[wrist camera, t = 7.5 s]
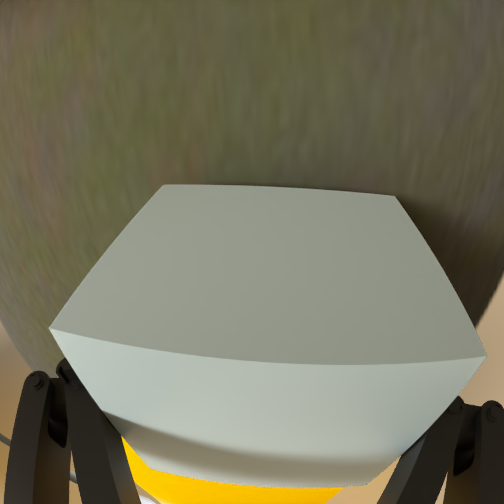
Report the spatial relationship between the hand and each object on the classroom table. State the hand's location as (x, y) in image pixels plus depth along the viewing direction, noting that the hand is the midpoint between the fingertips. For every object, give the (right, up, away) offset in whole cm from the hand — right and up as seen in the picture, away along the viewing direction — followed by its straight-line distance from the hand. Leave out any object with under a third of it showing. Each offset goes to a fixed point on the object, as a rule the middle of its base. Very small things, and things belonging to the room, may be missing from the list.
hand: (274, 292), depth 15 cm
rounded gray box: (0, 0, +1) cm, 1 cm away
